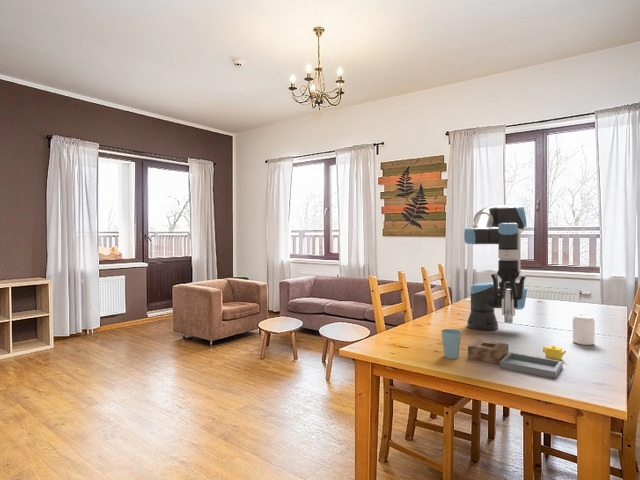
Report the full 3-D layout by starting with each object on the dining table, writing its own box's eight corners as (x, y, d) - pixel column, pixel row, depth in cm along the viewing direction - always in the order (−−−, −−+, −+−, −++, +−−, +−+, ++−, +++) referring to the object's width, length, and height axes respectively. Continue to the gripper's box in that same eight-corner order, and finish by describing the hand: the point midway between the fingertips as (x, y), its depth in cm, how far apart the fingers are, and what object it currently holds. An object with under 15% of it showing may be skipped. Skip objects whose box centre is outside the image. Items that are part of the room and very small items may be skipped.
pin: (503, 322, 166) (503, 289, 165) (505, 320, 168) (505, 288, 168) (511, 323, 164) (511, 290, 163) (513, 321, 166) (513, 289, 166)
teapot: (568, 359, 154) (568, 346, 154) (564, 363, 150) (564, 349, 150) (546, 355, 160) (546, 342, 160) (541, 358, 156) (541, 345, 156)
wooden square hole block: (468, 358, 157) (468, 345, 157) (478, 351, 166) (478, 339, 166) (499, 364, 149) (499, 351, 149) (508, 356, 158) (508, 344, 158)
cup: (439, 353, 163) (439, 328, 163) (458, 353, 163) (458, 328, 162) (443, 359, 156) (443, 333, 155) (463, 359, 155) (463, 333, 155)
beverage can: (584, 346, 170) (584, 319, 170) (568, 341, 178) (568, 315, 178) (599, 344, 173) (599, 317, 172) (582, 340, 180) (582, 314, 180)
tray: (499, 367, 145) (499, 361, 145) (509, 358, 156) (509, 352, 156) (555, 378, 134) (555, 371, 134) (562, 367, 145) (562, 361, 144)
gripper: (485, 259, 167) (485, 314, 168) (527, 261, 157) (527, 319, 158) (490, 258, 173) (491, 310, 174) (531, 259, 163) (531, 315, 163)
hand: (508, 314), depth 166 cm, fingers closed on pin, 3 cm apart
